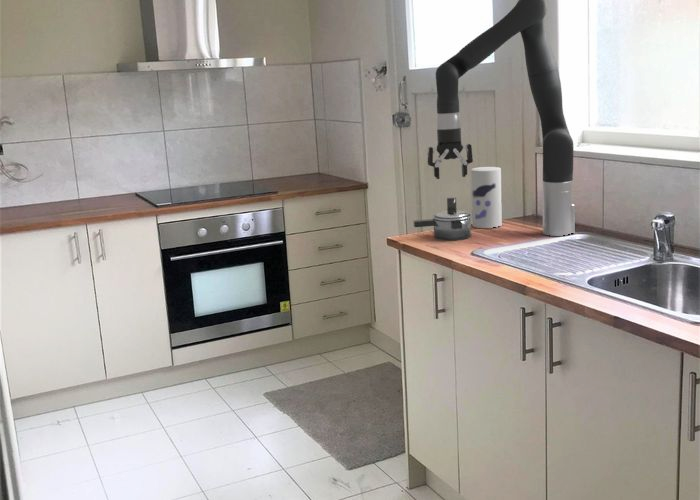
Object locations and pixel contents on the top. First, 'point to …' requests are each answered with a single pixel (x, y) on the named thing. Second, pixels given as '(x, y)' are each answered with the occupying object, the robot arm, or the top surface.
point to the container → (486, 197)
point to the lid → (451, 211)
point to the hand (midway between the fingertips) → (450, 177)
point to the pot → (448, 227)
